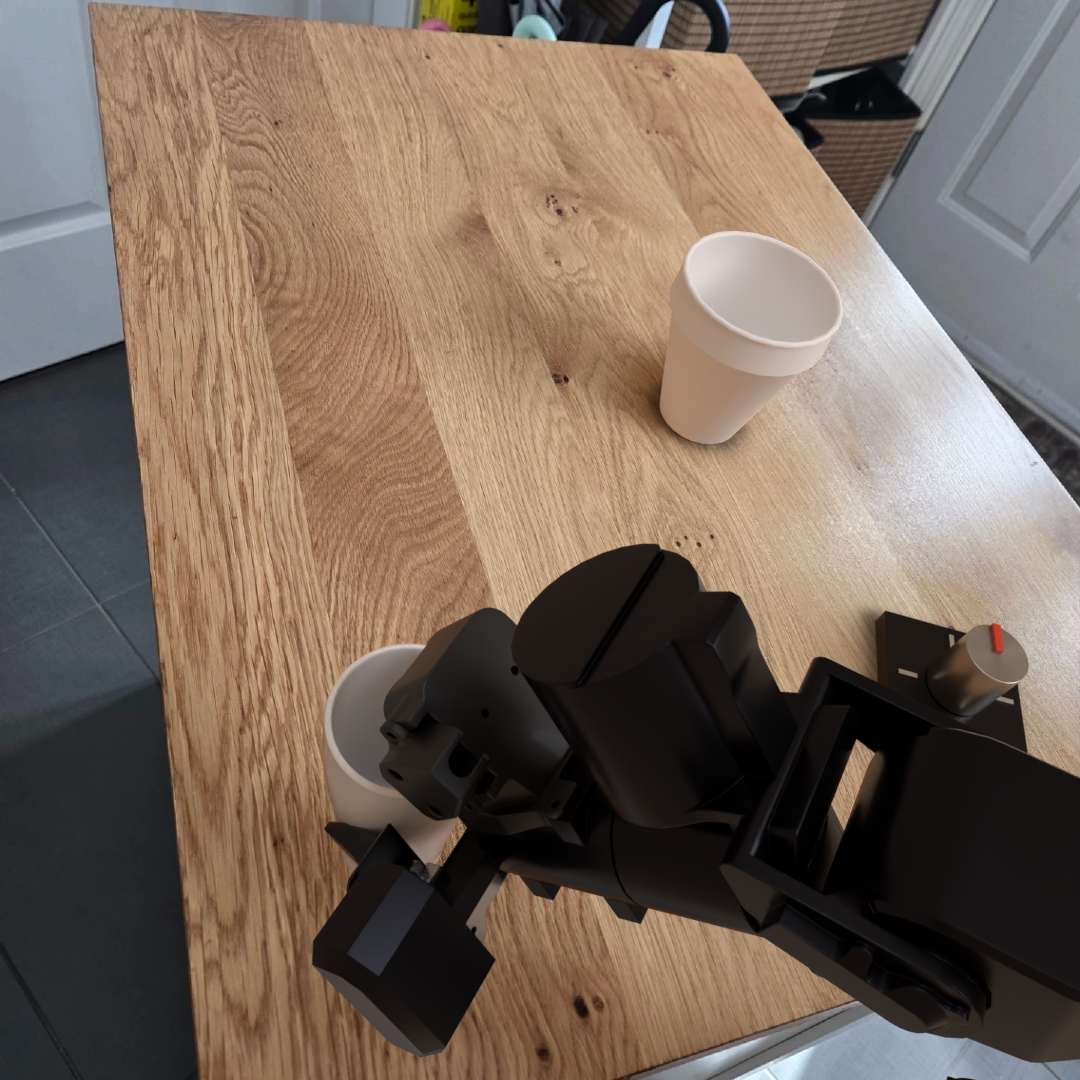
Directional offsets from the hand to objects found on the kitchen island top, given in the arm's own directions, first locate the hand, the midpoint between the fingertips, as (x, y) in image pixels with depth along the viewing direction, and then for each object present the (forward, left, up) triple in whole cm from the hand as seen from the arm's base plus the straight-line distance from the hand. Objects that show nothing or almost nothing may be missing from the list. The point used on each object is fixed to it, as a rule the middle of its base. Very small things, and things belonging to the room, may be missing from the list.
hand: (377, 771), depth 44 cm
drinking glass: (0, -2, -8) cm, 8 cm away
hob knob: (+21, -37, -11) cm, 43 cm away
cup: (+42, -17, -12) cm, 47 cm away
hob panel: (+21, -37, -12) cm, 44 cm away
